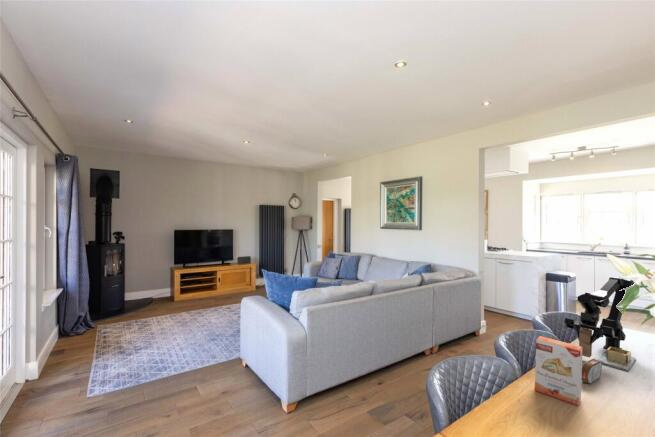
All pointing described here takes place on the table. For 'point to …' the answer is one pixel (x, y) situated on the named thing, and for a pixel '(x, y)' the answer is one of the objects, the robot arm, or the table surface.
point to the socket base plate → (617, 358)
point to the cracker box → (558, 369)
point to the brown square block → (585, 342)
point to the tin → (591, 371)
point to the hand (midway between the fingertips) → (584, 342)
